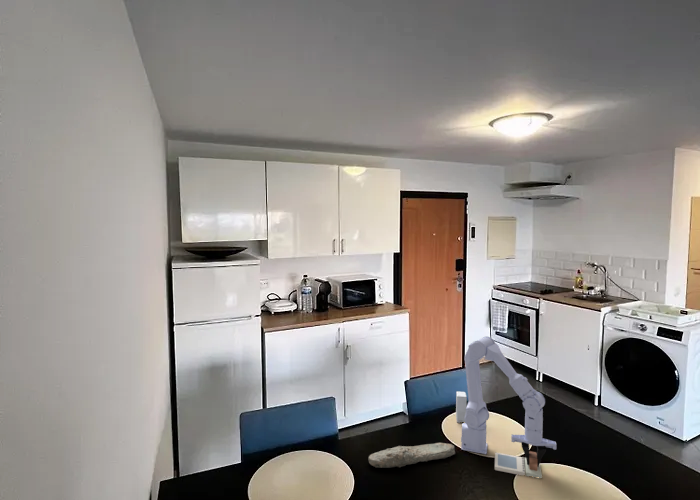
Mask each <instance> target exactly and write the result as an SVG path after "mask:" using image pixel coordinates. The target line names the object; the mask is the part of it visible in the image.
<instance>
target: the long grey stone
mask: <svg viewBox="0 0 700 500" xmlns="http://www.w3.org/2000/svg"><path fill="white" fill-rule="evenodd" d="M455 450H456V449H455V445H453V444H452V443H445V442H435V443H426V444H420V445H414V446H411V445H410V446H409V445H408V446H404V445H403V446H402V445H398V446H394V447H392V448H388V447H387V448H386V449H383V450H380V451H377V452H374V453H371V454H369V455H368V463H369V465H370V466H373V468H374V467H375V468H380V469H381V468H385V469H387V468H388V469H390V468H395V467H397V468H401V467H405V466H406V465H408V466H409V465H414V464H417V463H419V462H428V461H433V460H441V459H447V458H448V457H449V458H451V456H454V455H456V451H455Z"/></svg>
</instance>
